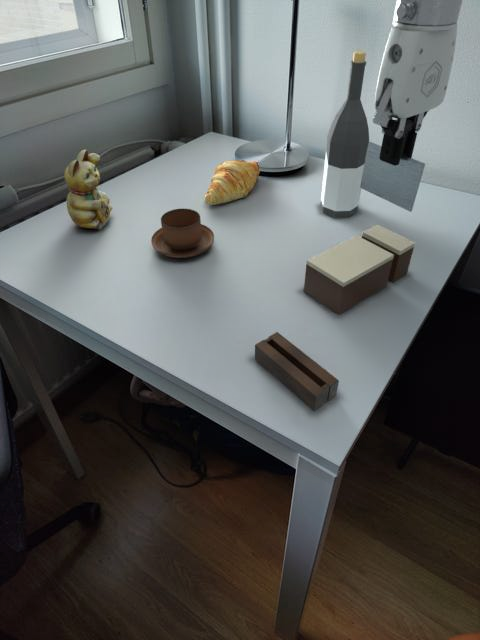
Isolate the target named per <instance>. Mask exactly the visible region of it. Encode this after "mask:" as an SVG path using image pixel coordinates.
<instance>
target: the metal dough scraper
mask: <svg viewBox="0 0 480 640" xmlns="http://www.w3.org/2000/svg"><path fill="white" fill-rule="evenodd" d="M394 120H395V121H396V123H397V121H398V119H397V118H395V119H394ZM412 125H413V121H410V120H408V119H406V123H405V127H404V132H403V135H402V137H405V140H404V145H403V149H402V154H404V153H405V152H406V149H407V145H408V141H409V137H410V133H411V129H412ZM381 146H382V145H380V144H377V143H375V142H372V141H369V143H368V148H367V153H366V158H365V164H364V169H363V174H362V179H361V185H360V188H361V190H364V191H366V192H367V193H370V194H372V195H375V196H377V197H379V198H381V199H383V200H385V201H387V202H389V203H391V204H393V205H396V206H397V207H400V209H404V210H405V211H408V212H410V213H411V212H413V209H414V205H415V202H416V198H417V194H418V192H419V187H420V184H421V180H422V177H423V173H424V170H425V166H426V163H425V162H422V161H420V160H418V159H415V158H413V157H412V158H410V157H407V156H405V155H402V154H401V158H400V163H399V164H398V165H396V166H394V165H392V164H389V163H386V162H384V161H381V160H380V158H379V157H380V152H381Z"/></svg>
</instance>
